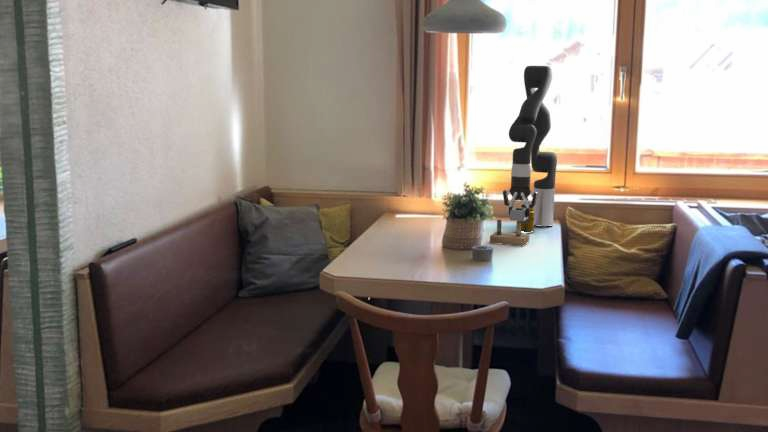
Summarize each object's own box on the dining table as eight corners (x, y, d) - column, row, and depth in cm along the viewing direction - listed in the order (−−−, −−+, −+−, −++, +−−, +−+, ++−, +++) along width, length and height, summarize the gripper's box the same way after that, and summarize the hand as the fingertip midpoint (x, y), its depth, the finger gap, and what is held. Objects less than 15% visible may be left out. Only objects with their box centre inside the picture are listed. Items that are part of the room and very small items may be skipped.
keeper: (495, 238, 331) (496, 217, 330) (529, 241, 326) (530, 220, 325) (489, 243, 323) (490, 221, 322) (524, 246, 318) (525, 223, 316)
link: (514, 216, 326) (514, 207, 326) (528, 218, 324) (528, 208, 324) (509, 220, 319) (510, 210, 318) (523, 221, 317) (524, 211, 316)
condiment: (537, 232, 347) (538, 204, 344) (525, 234, 341) (527, 207, 339) (523, 229, 352) (525, 202, 350) (512, 232, 346) (513, 204, 344)
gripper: (540, 174, 319) (538, 216, 322) (505, 172, 325) (503, 214, 328) (537, 177, 313) (535, 219, 315) (500, 174, 318) (499, 216, 321)
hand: (519, 216), depth 322 cm, fingers closed on link, 5 cm apart
